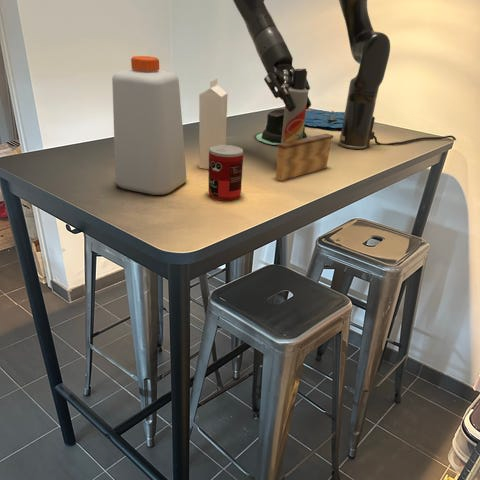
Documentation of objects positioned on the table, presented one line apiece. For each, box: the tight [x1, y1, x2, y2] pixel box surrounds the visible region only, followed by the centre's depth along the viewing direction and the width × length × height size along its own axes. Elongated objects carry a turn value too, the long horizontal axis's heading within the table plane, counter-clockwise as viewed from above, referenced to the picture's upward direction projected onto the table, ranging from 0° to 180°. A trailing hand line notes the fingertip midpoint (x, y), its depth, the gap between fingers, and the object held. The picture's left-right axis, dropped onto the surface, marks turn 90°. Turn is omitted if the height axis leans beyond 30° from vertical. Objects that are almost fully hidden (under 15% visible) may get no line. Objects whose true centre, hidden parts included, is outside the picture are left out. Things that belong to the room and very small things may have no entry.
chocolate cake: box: [255, 108, 309, 146], centre depth 157 cm, size 15×19×20 cm
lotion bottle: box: [281, 68, 309, 143], centre depth 124 cm, size 6×6×20 cm
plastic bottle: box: [111, 55, 188, 196], centre depth 108 cm, size 15×15×28 cm
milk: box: [198, 78, 228, 170], centre depth 124 cm, size 6×6×22 cm
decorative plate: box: [304, 109, 345, 129], centre depth 183 cm, size 30×30×5 cm
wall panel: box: [275, 133, 334, 182], centre depth 127 cm, size 21×3×9 cm, turn 133°
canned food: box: [208, 144, 244, 202], centre depth 109 cm, size 8×8×11 cm
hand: (300, 108), depth 122 cm, fingers closed on lotion bottle, 5 cm apart
